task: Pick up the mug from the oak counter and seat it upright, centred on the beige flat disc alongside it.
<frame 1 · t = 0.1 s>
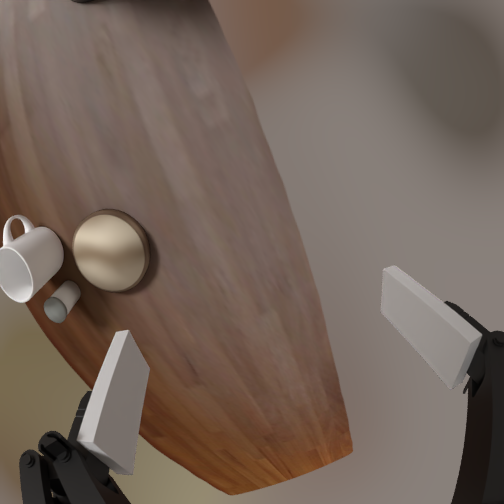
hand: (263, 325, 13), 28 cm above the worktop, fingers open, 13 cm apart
beige flat disc: (111, 250, 38), on the worktop
spice jar: (71, 290, 39), on the worktop
mug: (43, 240, 36), on the worktop
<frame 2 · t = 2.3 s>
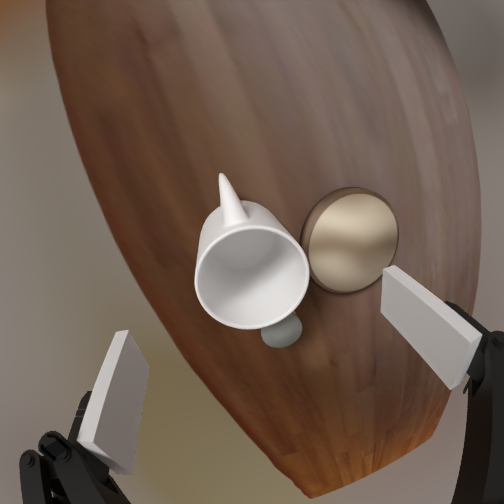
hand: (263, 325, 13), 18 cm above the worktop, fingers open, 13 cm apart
beige flat disc: (349, 240, 32), on the worktop
spice jar: (269, 297, 33), on the worktop
mug: (235, 222, 29), on the worktop
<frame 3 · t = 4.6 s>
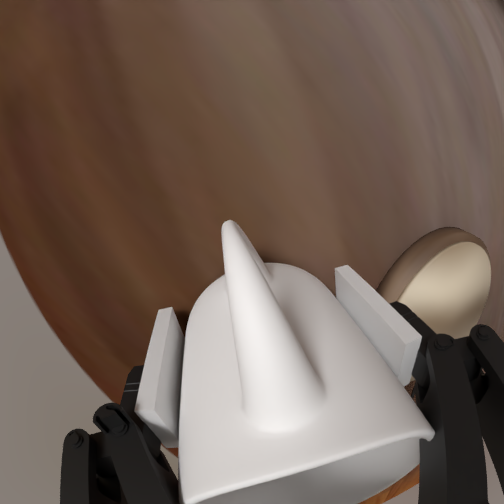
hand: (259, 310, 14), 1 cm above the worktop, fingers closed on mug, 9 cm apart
beige flat disc: (430, 307, 17), on the worktop
mug: (254, 300, 15), on the worktop, touching gripper
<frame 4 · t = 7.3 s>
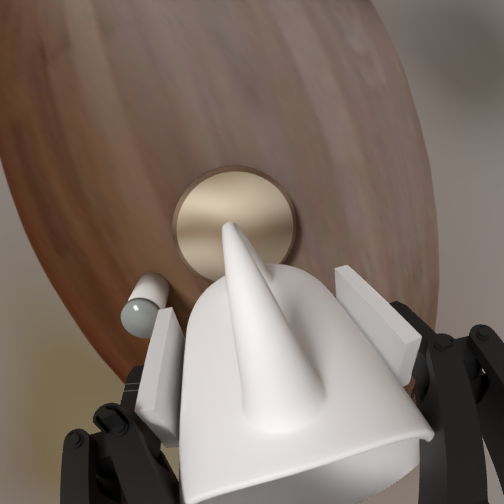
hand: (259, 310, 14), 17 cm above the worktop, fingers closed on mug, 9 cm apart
beige flat disc: (234, 225, 29), on the worktop
spice jar: (153, 287, 31), on the worktop
mug: (254, 301, 15), point 16 cm above the worktop, touching gripper
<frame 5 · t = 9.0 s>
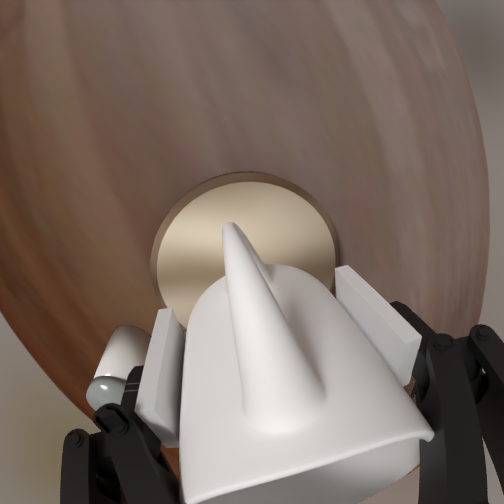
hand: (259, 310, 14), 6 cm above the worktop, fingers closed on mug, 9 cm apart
beige flat disc: (245, 264, 20), on the worktop
spice jar: (132, 344, 21), on the worktop
mug: (254, 301, 15), point 5 cm above the worktop, touching gripper
when the fingers open (4 cm above the worktop, at t = 10.3 s): mug drops 1 cm, resting on beige flat disc.
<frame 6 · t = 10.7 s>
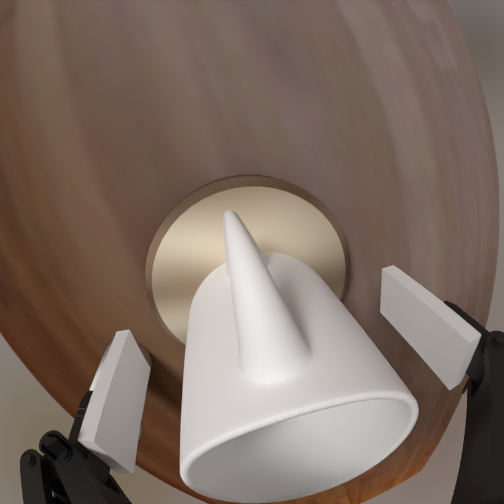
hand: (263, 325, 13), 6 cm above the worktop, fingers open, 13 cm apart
beige flat disc: (248, 275, 18), on the worktop
spice jar: (128, 357, 19), on the worktop
mug: (252, 287, 16), point 2 cm above the worktop, touching beige flat disc
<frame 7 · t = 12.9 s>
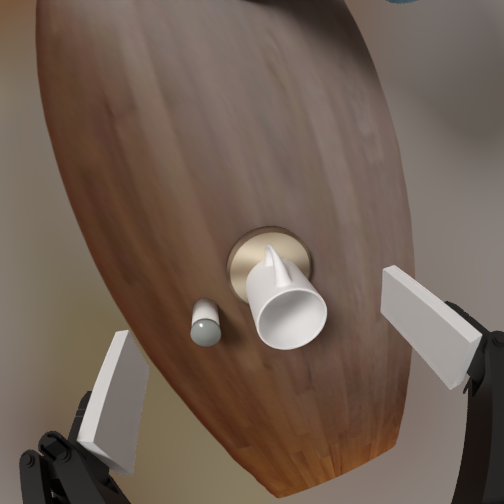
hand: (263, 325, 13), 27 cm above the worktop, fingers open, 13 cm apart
beige flat disc: (268, 267, 42), on the worktop
spice jar: (205, 309, 43), on the worktop
mug: (270, 272, 40), point 2 cm above the worktop, touching beige flat disc
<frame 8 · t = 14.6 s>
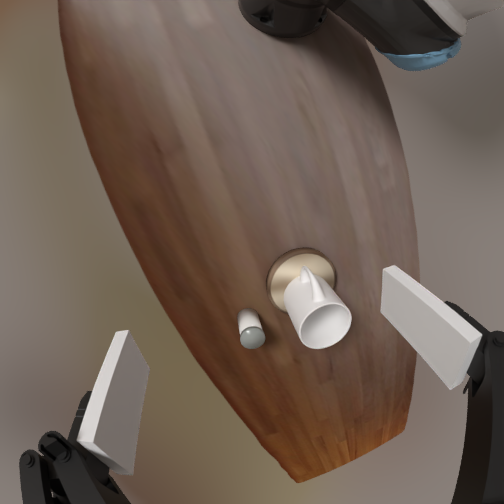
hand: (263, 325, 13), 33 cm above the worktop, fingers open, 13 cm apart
beige flat disc: (300, 280, 50), on the worktop
spice jar: (247, 316, 51), on the worktop
mug: (303, 285, 48), point 2 cm above the worktop, touching beige flat disc
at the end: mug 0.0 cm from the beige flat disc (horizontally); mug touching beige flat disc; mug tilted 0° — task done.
